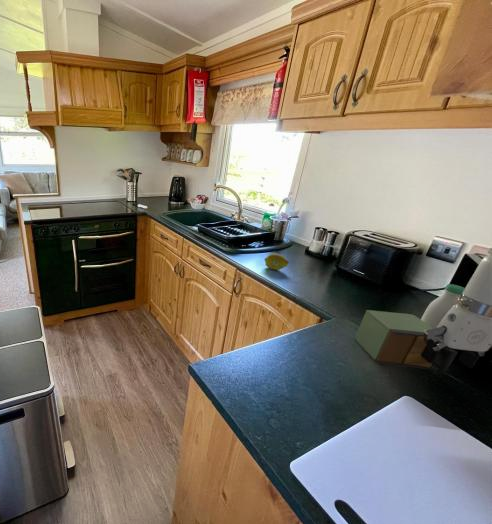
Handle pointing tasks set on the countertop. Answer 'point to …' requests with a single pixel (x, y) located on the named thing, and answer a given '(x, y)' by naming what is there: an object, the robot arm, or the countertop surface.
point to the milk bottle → (442, 305)
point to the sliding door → (418, 360)
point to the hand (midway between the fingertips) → (445, 361)
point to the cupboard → (390, 336)
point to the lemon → (276, 261)
